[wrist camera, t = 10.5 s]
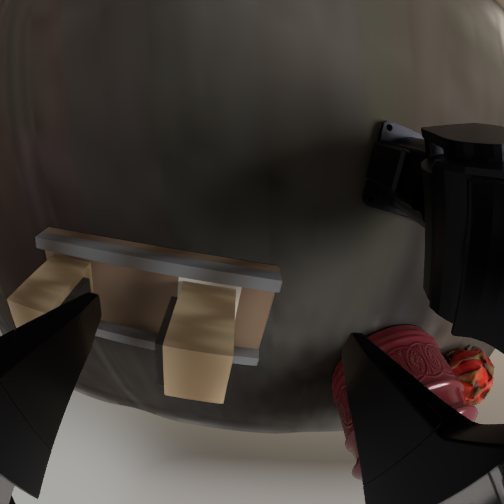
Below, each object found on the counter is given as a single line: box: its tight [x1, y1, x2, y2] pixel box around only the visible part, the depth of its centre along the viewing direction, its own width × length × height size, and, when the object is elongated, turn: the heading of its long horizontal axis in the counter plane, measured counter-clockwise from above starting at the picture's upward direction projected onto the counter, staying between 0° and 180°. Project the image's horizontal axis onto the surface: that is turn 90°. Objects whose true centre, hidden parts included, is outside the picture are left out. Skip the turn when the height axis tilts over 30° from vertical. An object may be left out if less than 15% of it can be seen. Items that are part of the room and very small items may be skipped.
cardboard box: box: [155, 281, 236, 404], centre depth 19 cm, size 5×5×7 cm
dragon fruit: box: [444, 346, 494, 405], centre depth 26 cm, size 8×8×12 cm
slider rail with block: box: [7, 227, 282, 366], centre depth 19 cm, size 20×9×8 cm, turn 79°
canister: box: [332, 325, 478, 480], centre depth 20 cm, size 13×13×18 cm
